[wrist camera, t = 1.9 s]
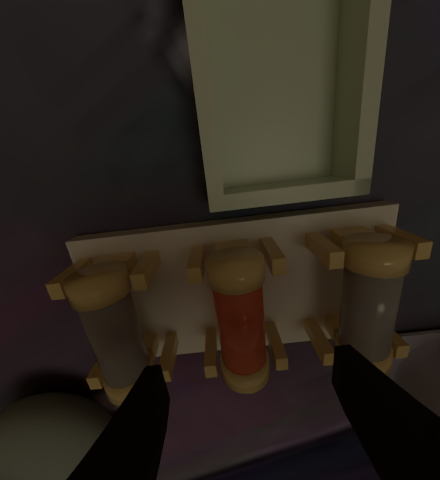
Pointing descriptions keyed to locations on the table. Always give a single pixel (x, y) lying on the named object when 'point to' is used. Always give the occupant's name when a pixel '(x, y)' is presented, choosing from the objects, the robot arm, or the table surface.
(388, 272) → the fuse
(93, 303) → the fuse
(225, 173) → the tray
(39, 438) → the air freshener
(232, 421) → the table surface
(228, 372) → the cylinder
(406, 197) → the table surface
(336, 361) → the robot arm
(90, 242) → the fuse holder
